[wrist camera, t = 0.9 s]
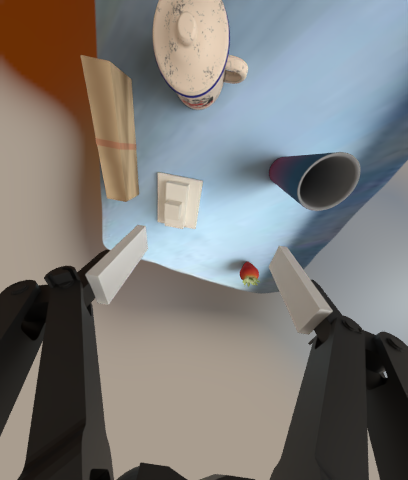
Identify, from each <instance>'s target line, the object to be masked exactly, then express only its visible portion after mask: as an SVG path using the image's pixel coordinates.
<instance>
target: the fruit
mask: <svg viewBox="0 0 408 480" xmlns="http://www.w3.org/2000/svg"><path fill="white" fill-rule="evenodd" d="M240 277H241V279H242V280H243V283H244V285H245V284H246V283H247V282H248V283H247V284H248V287H249V285H250V282H251V284H253V285H257V283H256V281H257V282H259V281H258V277H259V272H258V270H257V268H255V267H254V266H253V265H252V264H251V263H250V262H246V263H245V264H244V265H243V267H242V269H241V271H240ZM254 283H255V284H254ZM259 283H260V282H259Z"/></svg>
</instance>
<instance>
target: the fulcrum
mask: <svg viewBox="0 0 408 480" xmlns="http://www.w3.org/2000/svg"><path fill="white" fill-rule="evenodd" d="M202 184H203V181H202V180H197V179H192V178H186V177H181V176H176V175H171V174H166V173H161V172H158V222H160V223H165V226H170V227H175V228H180V229H183V228H184V227H187V228H192V229H195V228H196V222H197V216H198V210H199V203H200V197H201V191H202Z"/></svg>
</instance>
